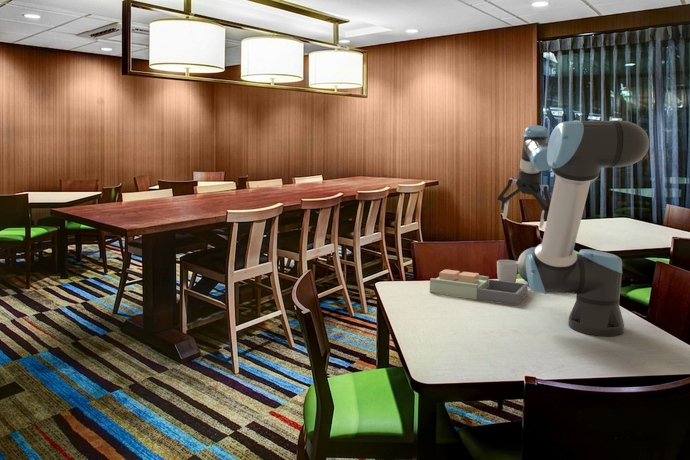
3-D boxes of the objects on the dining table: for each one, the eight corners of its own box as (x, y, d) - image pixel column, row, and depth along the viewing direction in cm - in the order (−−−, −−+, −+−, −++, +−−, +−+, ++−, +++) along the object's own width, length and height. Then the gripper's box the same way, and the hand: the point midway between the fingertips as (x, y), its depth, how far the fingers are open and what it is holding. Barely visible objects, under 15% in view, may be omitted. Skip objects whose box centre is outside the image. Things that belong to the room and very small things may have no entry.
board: (476, 299, 187) (477, 285, 186) (429, 292, 196) (429, 278, 196) (488, 289, 200) (488, 276, 199) (443, 283, 209) (444, 270, 208)
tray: (516, 305, 179) (517, 294, 179) (476, 299, 187) (477, 288, 186) (526, 294, 193) (527, 283, 192) (489, 289, 200) (489, 279, 199)
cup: (520, 289, 199) (521, 264, 198) (499, 289, 200) (500, 264, 198) (513, 284, 207) (515, 259, 206) (493, 284, 208) (494, 259, 206)
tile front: (473, 284, 192) (474, 276, 191) (458, 282, 195) (458, 274, 194) (478, 281, 197) (479, 273, 196) (463, 279, 200) (463, 271, 199)
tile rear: (454, 282, 195) (454, 274, 195) (439, 280, 198) (439, 272, 198) (459, 278, 200) (459, 271, 200) (444, 276, 204) (445, 269, 203)
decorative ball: (553, 291, 197) (555, 252, 195) (512, 286, 205) (514, 248, 202) (558, 282, 210) (560, 245, 208) (520, 278, 217) (522, 242, 215)
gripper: (570, 172, 180) (559, 225, 191) (499, 159, 192) (493, 209, 203) (564, 180, 175) (554, 234, 186) (492, 166, 187) (486, 218, 198)
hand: (522, 221), depth 194 cm, fingers open, 13 cm apart
